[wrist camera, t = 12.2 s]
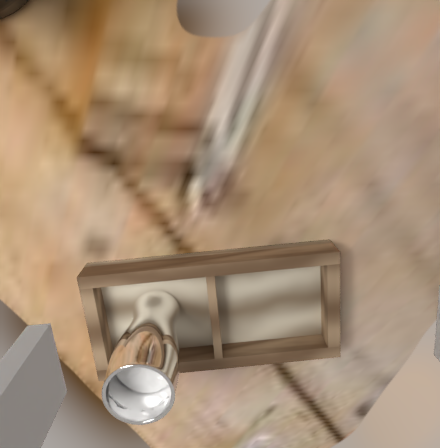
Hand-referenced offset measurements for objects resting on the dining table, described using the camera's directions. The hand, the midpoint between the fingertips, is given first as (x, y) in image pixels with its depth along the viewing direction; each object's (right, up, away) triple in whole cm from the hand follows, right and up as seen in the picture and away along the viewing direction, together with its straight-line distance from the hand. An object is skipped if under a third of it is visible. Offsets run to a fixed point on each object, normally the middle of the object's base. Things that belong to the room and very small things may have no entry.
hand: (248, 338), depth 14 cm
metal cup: (-9, -7, +37) cm, 39 cm away
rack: (-2, -6, +38) cm, 39 cm away
